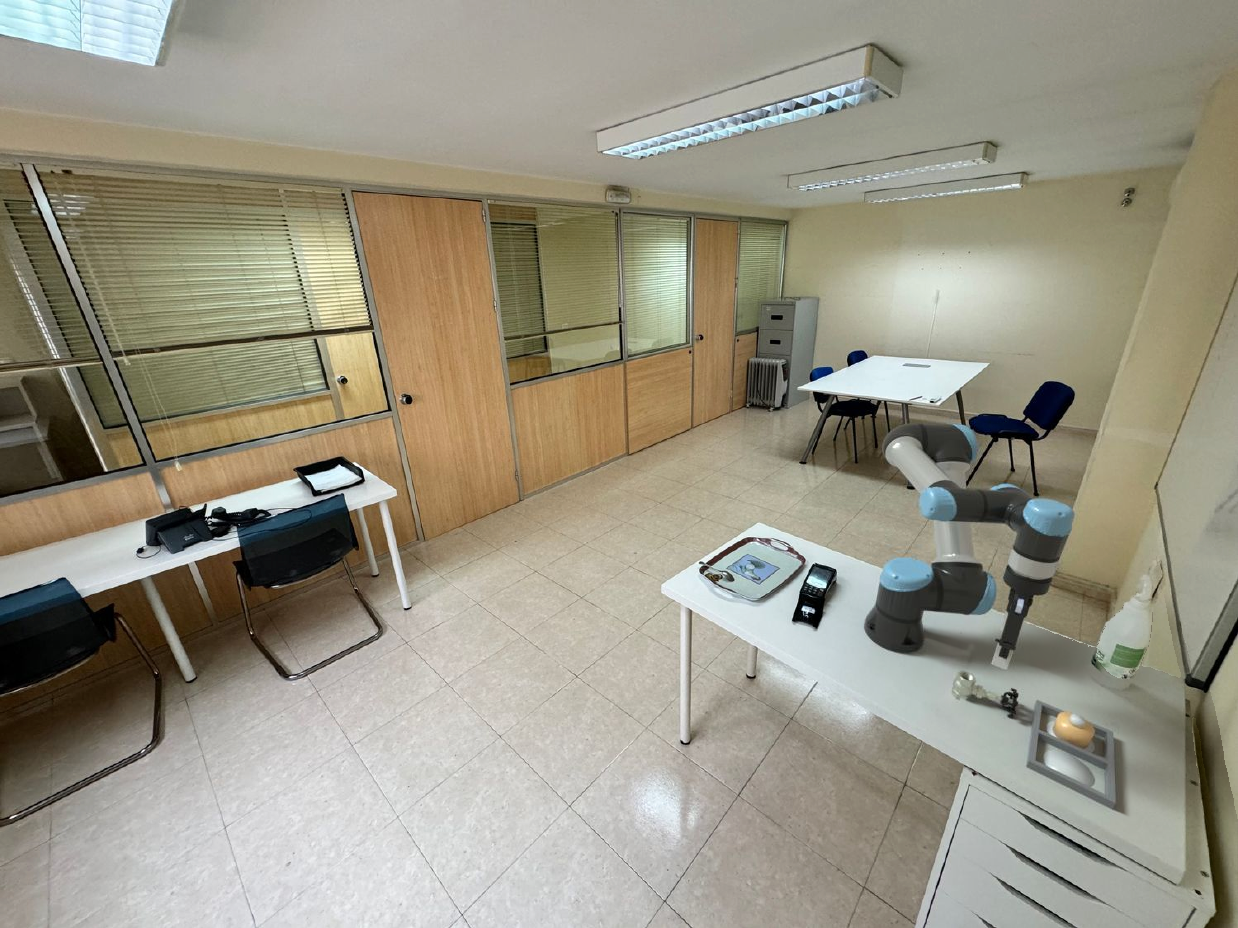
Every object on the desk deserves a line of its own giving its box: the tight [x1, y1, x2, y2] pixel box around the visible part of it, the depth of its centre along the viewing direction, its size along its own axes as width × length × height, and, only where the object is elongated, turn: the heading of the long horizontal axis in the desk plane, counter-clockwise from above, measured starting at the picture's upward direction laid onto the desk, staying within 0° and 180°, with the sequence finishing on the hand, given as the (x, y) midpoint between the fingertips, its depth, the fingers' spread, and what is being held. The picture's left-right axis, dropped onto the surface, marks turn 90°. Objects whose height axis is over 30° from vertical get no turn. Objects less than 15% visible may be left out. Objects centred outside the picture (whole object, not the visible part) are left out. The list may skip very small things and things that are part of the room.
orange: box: [1053, 711, 1095, 749], centre depth 105 cm, size 6×6×6 cm
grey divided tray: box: [1025, 699, 1117, 810], centre depth 103 cm, size 13×20×3 cm, turn 137°
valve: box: [951, 670, 1019, 719], centre depth 115 cm, size 7×7×12 cm
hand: (1003, 648), depth 108 cm, fingers open, 13 cm apart
